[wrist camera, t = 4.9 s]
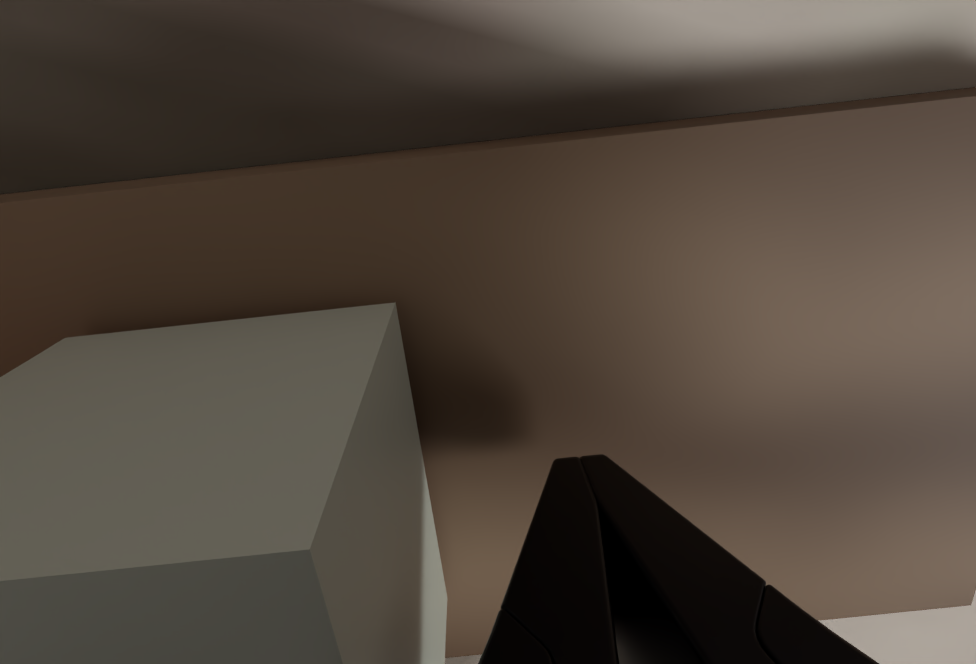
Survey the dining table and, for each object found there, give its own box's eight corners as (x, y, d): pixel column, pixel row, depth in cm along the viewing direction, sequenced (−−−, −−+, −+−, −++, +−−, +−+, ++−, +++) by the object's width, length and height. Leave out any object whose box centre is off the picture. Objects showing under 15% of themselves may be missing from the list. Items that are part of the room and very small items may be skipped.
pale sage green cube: (446, 597, 11) (431, 970, 6) (187, 623, 11) (-19, 1013, 6) (395, 301, 9) (308, 548, 4) (65, 337, 9) (-402, 621, 4)
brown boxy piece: (918, 551, 13) (1293, 933, 7) (-20, 646, 13) (-415, 1094, 7) (1034, 80, 9) (2060, 59, 3) (-289, 225, 10) (-1569, 452, 4)
